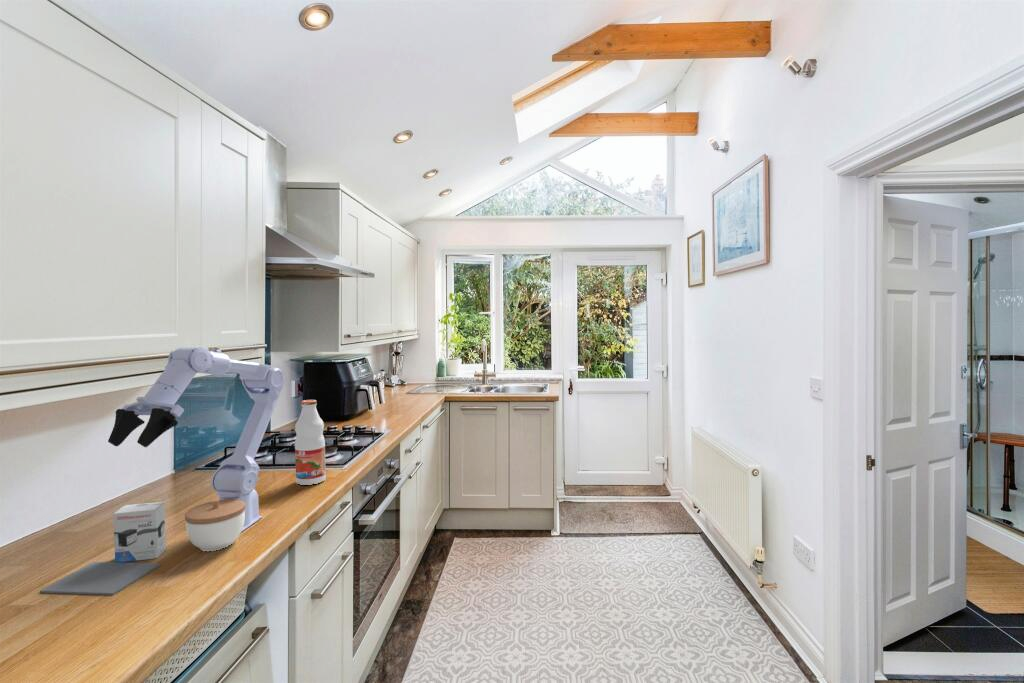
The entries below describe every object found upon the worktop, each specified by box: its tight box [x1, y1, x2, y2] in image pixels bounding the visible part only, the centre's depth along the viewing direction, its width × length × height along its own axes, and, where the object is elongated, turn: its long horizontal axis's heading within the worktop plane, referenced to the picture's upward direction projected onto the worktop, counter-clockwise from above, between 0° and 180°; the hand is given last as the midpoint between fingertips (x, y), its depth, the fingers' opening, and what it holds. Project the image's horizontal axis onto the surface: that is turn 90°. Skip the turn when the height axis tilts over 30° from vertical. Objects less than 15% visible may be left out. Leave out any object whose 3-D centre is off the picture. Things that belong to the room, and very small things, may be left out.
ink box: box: [112, 501, 167, 563], centre depth 110 cm, size 8×5×12 cm, turn 105°
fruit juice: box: [294, 399, 327, 486], centre depth 160 cm, size 9×9×28 cm
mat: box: [39, 561, 161, 596], centre depth 101 cm, size 12×16×1 cm
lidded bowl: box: [184, 499, 245, 553], centre depth 116 cm, size 13×13×11 cm
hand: (127, 444), depth 97 cm, fingers open, 7 cm apart
